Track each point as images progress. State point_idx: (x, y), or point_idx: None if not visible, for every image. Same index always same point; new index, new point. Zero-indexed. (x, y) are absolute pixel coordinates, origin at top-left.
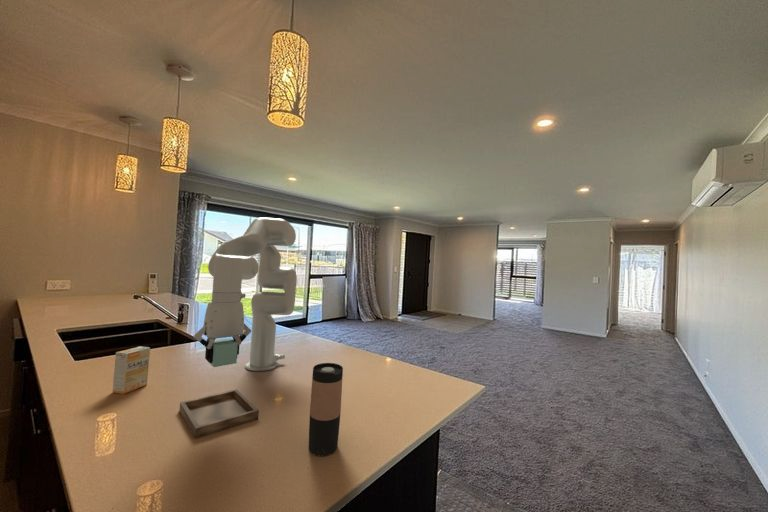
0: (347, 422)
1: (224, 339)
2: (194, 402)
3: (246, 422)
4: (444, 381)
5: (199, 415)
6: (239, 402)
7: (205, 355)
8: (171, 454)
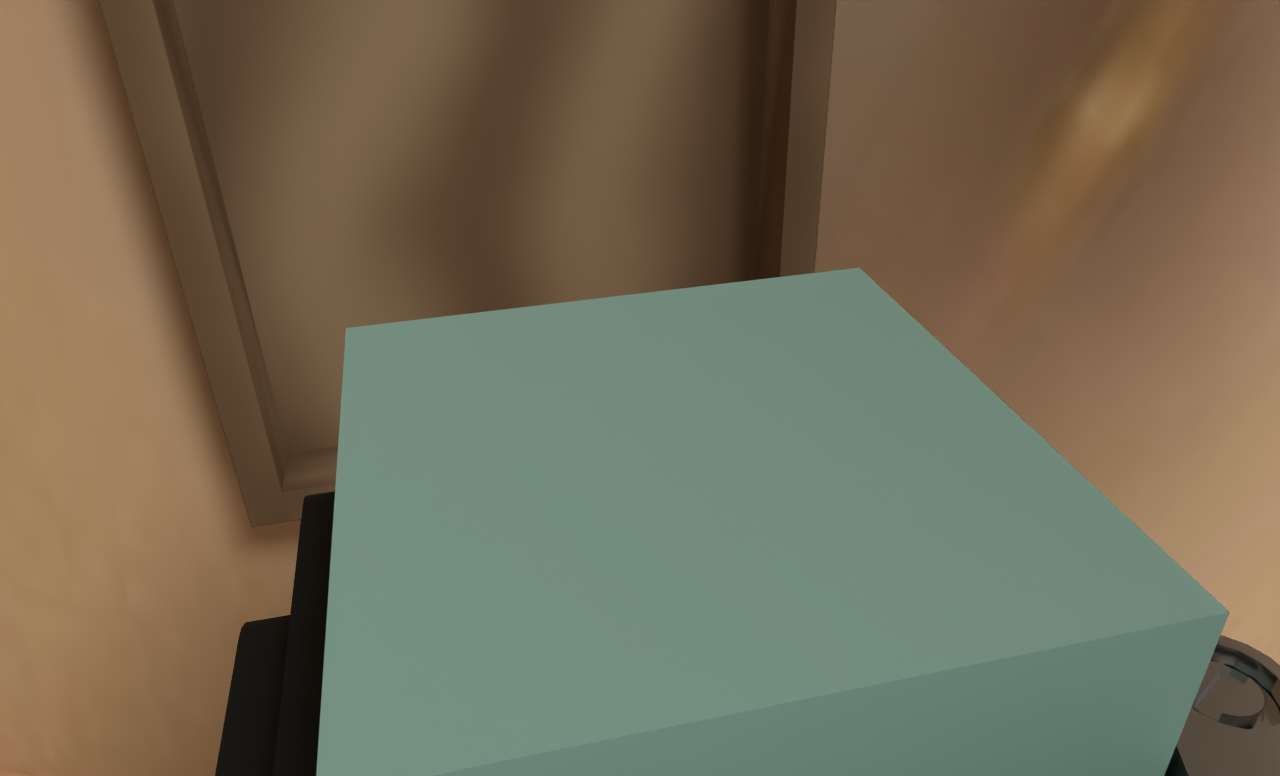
0: None
1: (950, 727)
2: None
3: None
4: None
5: (309, 114)
6: (764, 18)
7: (238, 682)
8: (94, 596)
